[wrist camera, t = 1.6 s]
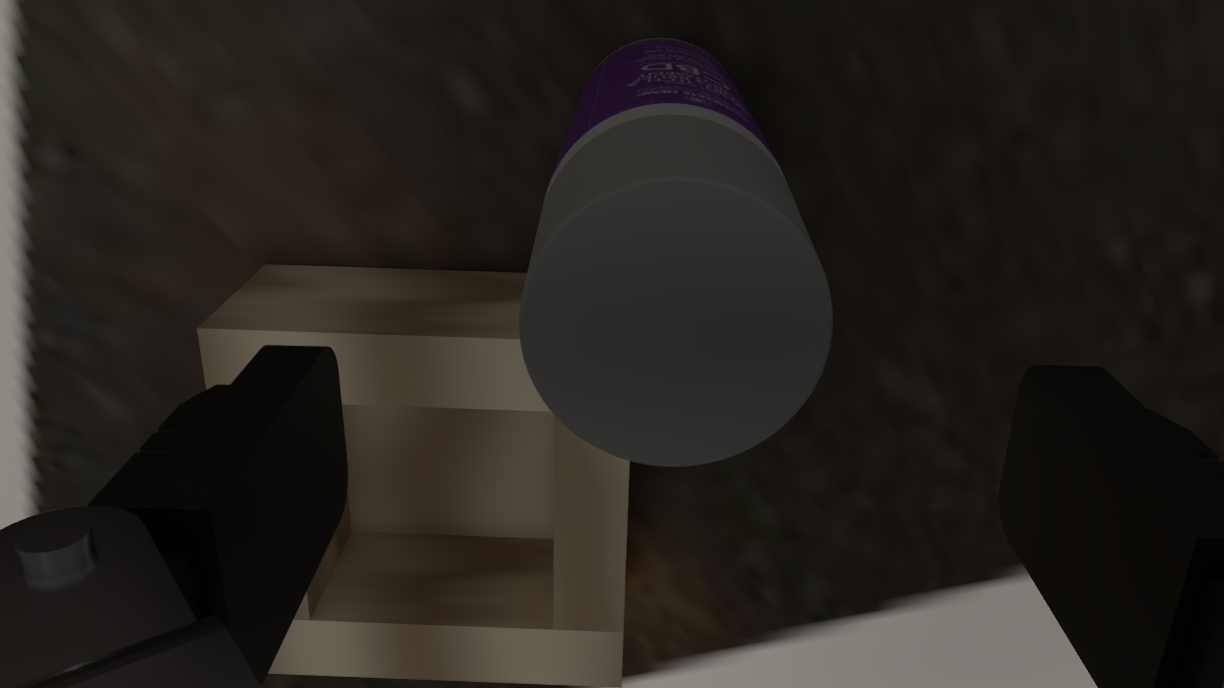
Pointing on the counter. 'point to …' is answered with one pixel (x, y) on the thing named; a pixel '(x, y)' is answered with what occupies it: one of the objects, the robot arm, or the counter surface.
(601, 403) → the container
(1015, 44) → the counter surface
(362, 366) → the socket block
